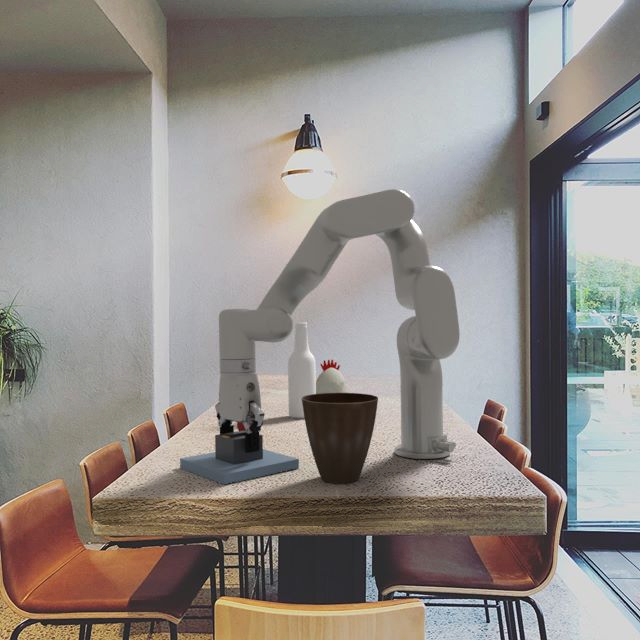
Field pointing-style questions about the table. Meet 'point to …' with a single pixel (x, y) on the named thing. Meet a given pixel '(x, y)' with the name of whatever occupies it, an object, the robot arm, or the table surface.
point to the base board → (238, 466)
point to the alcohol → (300, 372)
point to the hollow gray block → (235, 448)
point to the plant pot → (340, 432)
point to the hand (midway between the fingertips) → (239, 448)
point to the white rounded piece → (331, 380)
